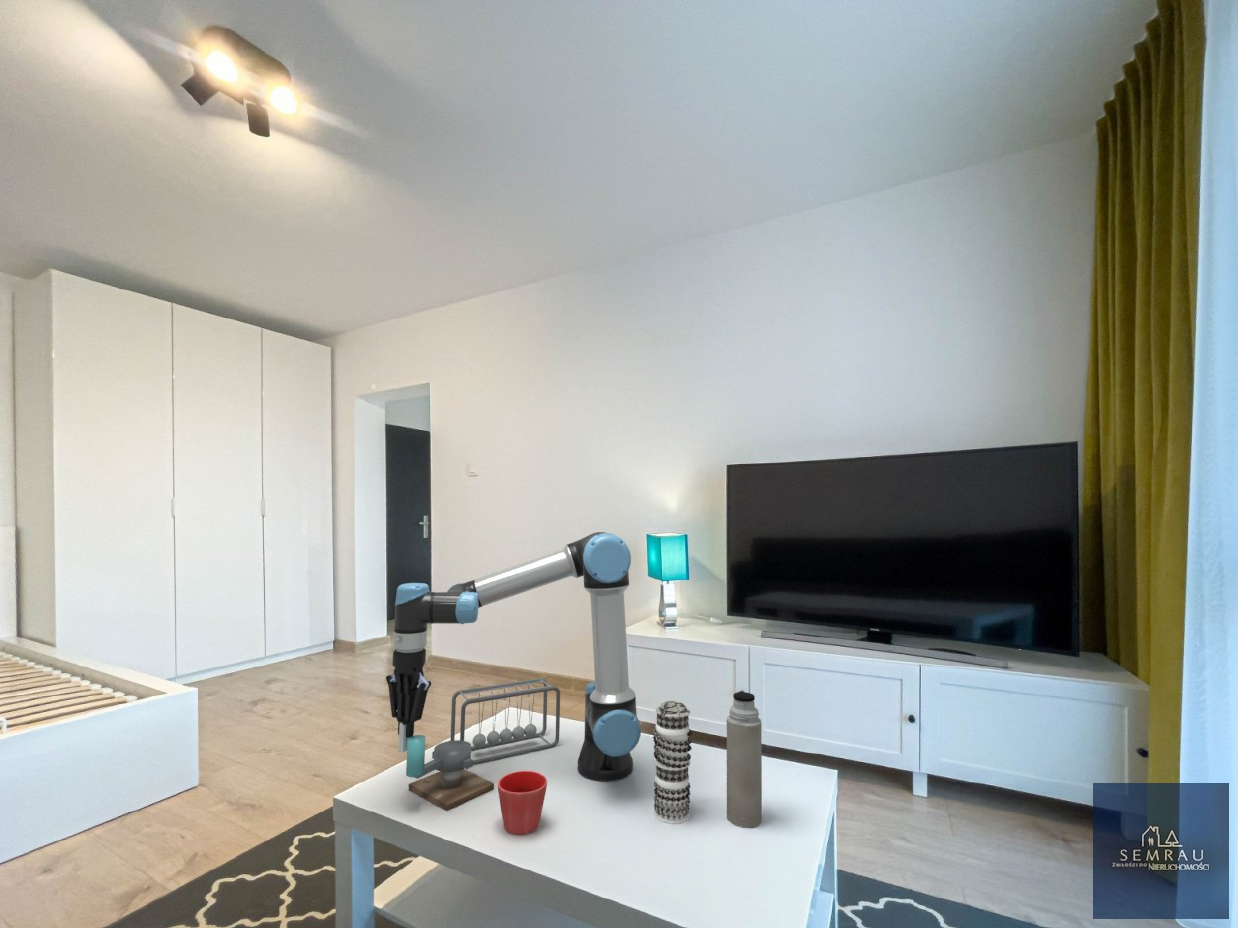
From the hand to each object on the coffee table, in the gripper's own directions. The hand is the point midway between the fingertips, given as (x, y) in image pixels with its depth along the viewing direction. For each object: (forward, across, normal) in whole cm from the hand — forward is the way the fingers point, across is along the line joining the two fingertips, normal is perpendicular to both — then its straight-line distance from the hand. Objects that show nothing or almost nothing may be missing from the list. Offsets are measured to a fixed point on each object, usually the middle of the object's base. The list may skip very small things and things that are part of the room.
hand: (404, 749), depth 139 cm
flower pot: (+13, +30, +7) cm, 33 cm away
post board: (+13, +4, +12) cm, 18 cm away
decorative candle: (+13, +57, +28) cm, 65 cm away
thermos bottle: (+13, +72, +35) cm, 81 cm away
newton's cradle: (+13, 0, +38) cm, 40 cm away
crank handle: (+7, +4, +7) cm, 11 cm away
